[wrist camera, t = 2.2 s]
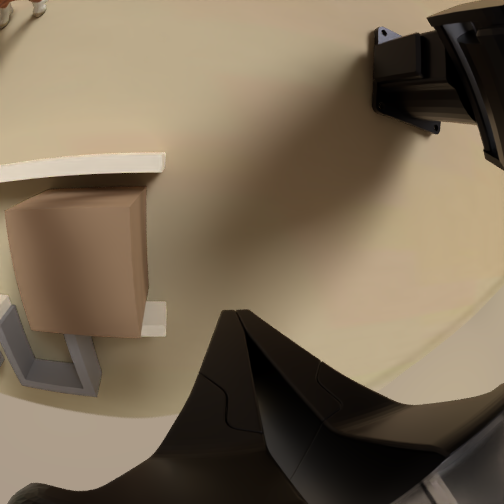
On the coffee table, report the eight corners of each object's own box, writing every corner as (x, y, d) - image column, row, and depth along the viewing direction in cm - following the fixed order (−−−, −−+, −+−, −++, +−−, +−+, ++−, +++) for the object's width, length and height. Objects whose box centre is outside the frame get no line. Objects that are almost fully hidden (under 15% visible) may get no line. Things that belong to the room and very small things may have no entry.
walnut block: (146, 186, 14) (129, 206, 10) (149, 286, 16) (140, 338, 12) (50, 188, 13) (4, 210, 8) (61, 283, 15) (31, 329, 10)
